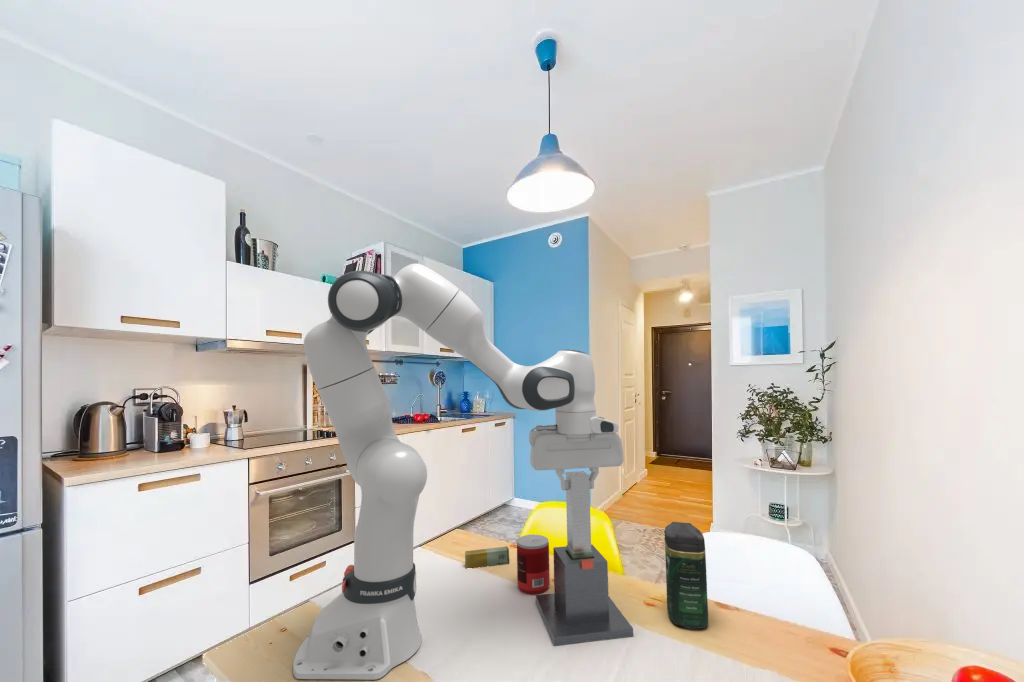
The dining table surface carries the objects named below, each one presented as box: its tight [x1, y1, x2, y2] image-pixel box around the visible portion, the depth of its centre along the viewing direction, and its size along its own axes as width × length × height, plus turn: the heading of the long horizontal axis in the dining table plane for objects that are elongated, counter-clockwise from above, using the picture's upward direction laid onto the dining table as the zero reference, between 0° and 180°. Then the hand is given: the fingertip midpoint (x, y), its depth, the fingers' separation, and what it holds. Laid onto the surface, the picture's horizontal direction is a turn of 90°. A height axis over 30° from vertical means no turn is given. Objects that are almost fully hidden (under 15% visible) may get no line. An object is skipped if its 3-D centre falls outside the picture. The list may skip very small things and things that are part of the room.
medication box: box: [464, 546, 510, 570], centre depth 117 cm, size 12×3×4 cm, turn 103°
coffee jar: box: [663, 521, 709, 630], centre depth 90 cm, size 10×8×19 cm
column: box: [565, 470, 592, 560], centre depth 92 cm, size 4×4×22 cm
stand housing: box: [535, 543, 634, 647], centre depth 91 cm, size 16×16×14 cm
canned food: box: [516, 534, 551, 595], centre depth 104 cm, size 8×8×11 cm
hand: (577, 488), depth 92 cm, fingers closed on column, 4 cm apart
